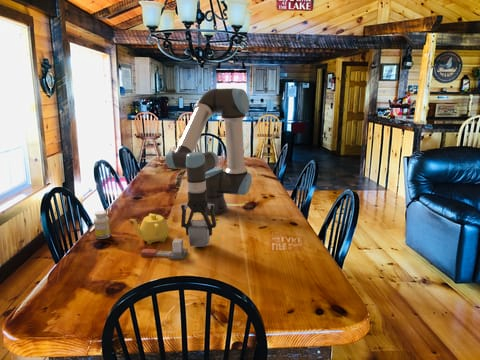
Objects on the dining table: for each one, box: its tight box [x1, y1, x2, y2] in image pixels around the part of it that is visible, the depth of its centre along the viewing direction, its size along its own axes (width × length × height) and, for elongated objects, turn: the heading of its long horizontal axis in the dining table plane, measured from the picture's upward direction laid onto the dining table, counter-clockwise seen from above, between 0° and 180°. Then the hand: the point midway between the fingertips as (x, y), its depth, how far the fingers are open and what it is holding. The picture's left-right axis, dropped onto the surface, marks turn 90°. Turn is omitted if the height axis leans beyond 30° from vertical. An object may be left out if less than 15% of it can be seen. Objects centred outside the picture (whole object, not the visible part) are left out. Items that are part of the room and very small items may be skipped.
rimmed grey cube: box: [188, 219, 208, 248], centre depth 158 cm, size 7×7×9 cm
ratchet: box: [140, 238, 189, 261], centre depth 152 cm, size 7×18×6 cm, turn 85°
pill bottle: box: [93, 210, 112, 240], centre depth 170 cm, size 6×6×12 cm
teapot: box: [128, 213, 170, 245], centre depth 166 cm, size 14×14×12 cm
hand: (199, 242), depth 159 cm, fingers closed on rimmed grey cube, 7 cm apart
